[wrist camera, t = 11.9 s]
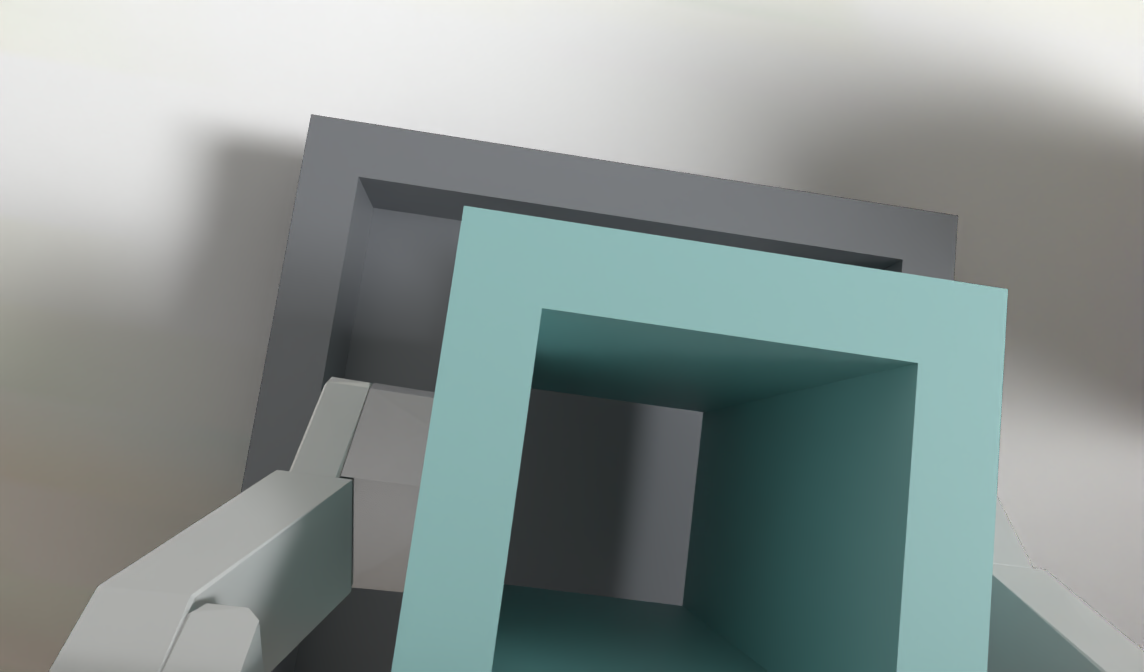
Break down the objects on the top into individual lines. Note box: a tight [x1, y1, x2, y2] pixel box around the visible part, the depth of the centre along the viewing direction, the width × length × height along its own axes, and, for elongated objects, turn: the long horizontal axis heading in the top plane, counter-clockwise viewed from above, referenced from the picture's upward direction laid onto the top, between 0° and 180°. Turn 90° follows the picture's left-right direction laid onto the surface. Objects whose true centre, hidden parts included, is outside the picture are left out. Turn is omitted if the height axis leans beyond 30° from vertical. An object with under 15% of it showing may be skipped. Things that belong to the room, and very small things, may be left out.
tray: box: [241, 114, 958, 672], centre depth 16 cm, size 12×12×2 cm
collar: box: [391, 206, 1008, 672], centre depth 11 cm, size 5×6×8 cm
